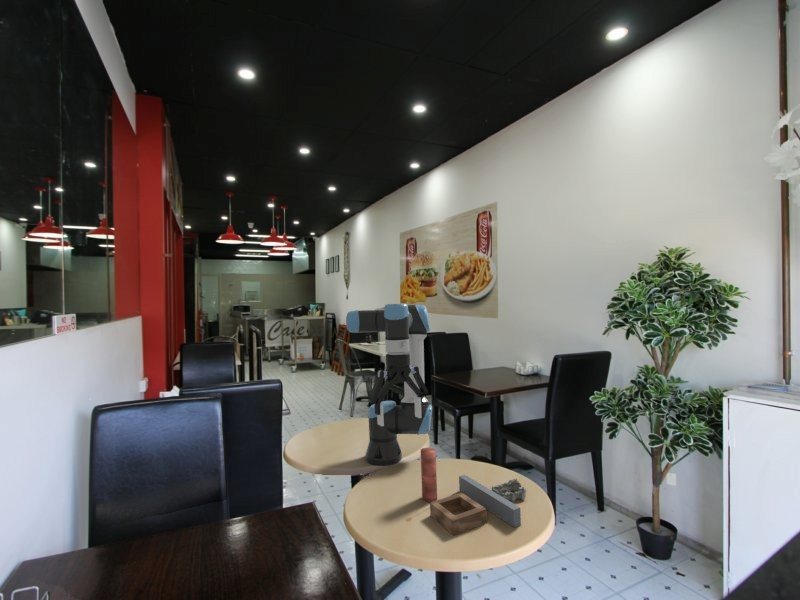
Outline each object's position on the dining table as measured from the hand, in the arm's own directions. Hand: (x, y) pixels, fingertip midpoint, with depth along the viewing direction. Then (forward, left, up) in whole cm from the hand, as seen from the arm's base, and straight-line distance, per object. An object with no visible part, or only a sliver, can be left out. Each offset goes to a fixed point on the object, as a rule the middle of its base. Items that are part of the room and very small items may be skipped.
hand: (399, 421), depth 124 cm
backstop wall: (+11, +25, -29) cm, 39 cm away
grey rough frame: (+9, +35, -29) cm, 46 cm away
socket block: (+12, +12, -29) cm, 33 cm away
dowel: (-3, +12, -29) cm, 31 cm away
